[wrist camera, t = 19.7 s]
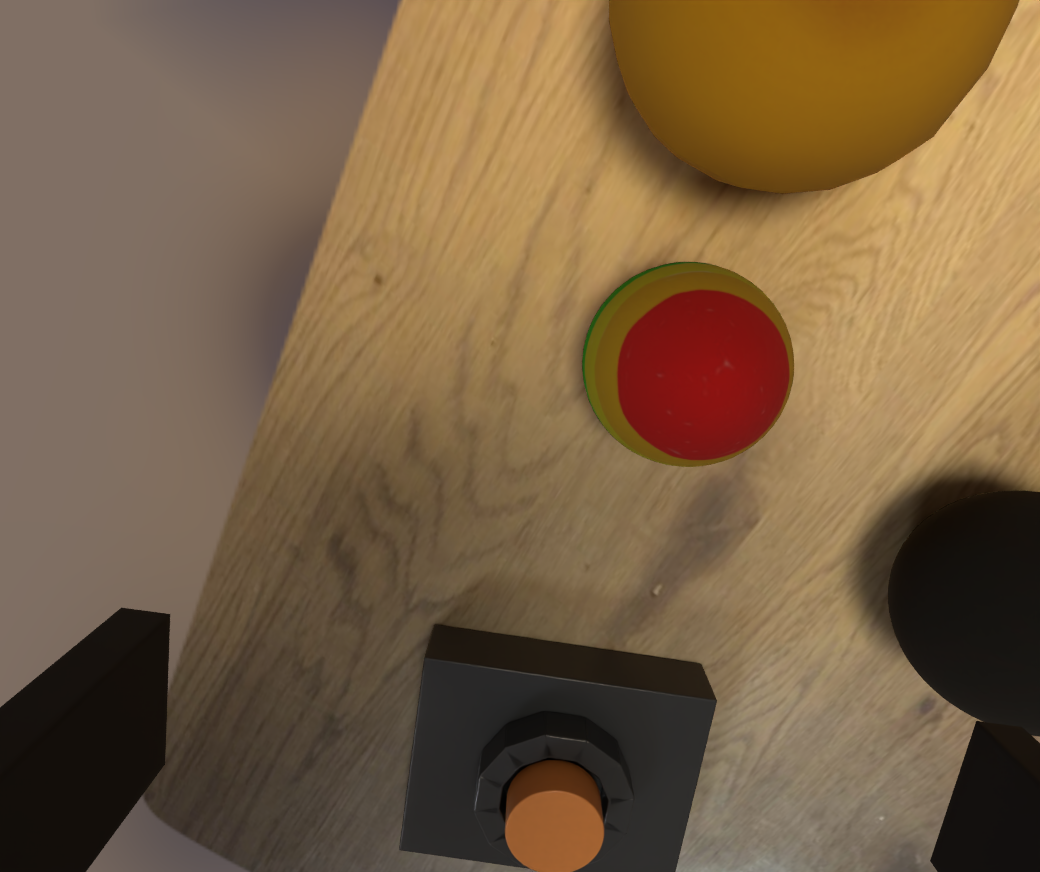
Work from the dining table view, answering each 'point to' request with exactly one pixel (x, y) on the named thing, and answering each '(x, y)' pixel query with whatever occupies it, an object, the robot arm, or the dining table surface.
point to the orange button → (554, 817)
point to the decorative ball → (975, 605)
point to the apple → (801, 81)
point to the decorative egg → (688, 364)
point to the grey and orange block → (554, 744)
